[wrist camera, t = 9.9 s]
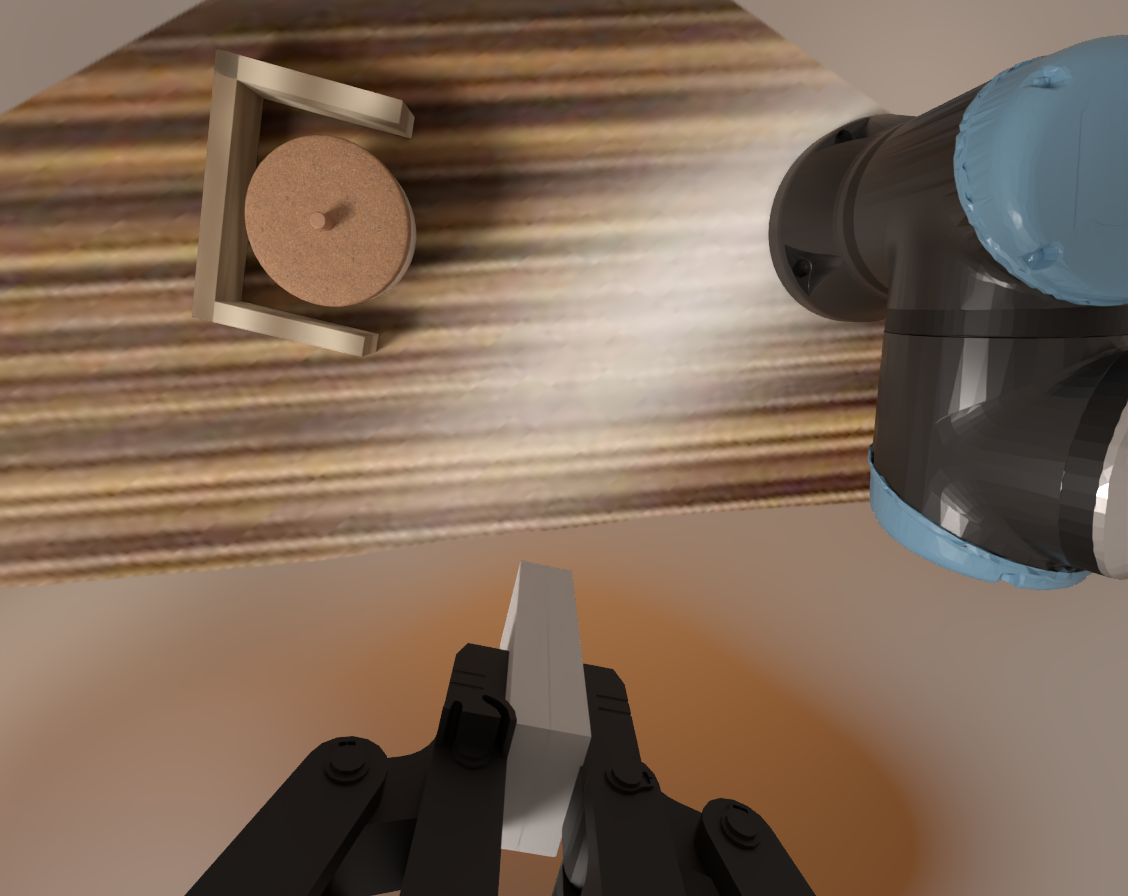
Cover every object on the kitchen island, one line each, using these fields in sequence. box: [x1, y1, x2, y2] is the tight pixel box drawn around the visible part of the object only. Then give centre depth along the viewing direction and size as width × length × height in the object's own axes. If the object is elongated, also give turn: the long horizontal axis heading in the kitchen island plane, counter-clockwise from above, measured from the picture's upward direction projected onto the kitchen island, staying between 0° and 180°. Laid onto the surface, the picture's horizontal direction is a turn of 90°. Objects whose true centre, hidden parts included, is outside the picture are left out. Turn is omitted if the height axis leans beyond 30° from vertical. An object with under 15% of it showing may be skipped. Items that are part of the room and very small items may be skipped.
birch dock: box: [192, 49, 415, 357], centre depth 44 cm, size 12×18×4 cm
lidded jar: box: [245, 135, 416, 307], centre depth 42 cm, size 11×11×9 cm
